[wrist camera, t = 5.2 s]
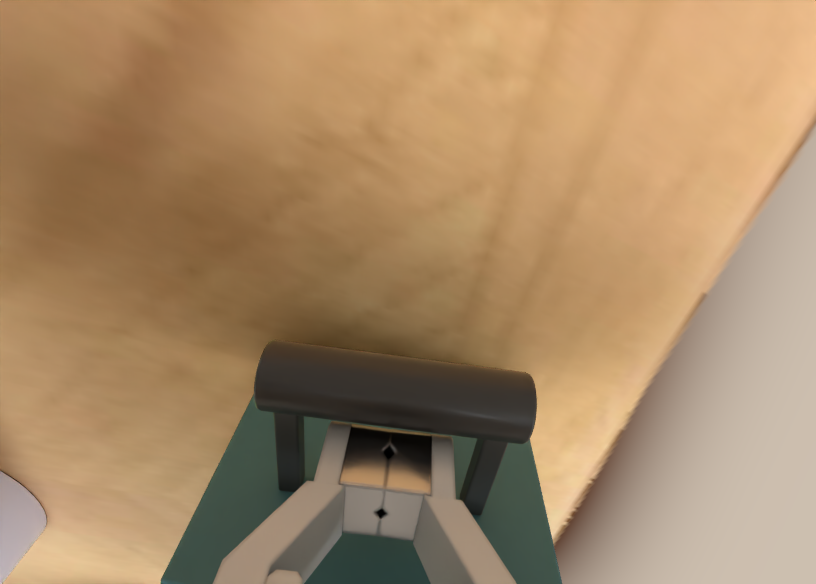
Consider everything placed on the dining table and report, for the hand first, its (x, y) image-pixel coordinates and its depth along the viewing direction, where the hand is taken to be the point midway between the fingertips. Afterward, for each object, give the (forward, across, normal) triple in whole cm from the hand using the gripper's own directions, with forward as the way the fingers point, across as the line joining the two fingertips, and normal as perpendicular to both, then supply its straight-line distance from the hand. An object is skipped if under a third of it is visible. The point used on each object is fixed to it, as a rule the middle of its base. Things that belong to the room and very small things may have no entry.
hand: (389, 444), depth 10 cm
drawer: (+5, 0, +6) cm, 8 cm away
